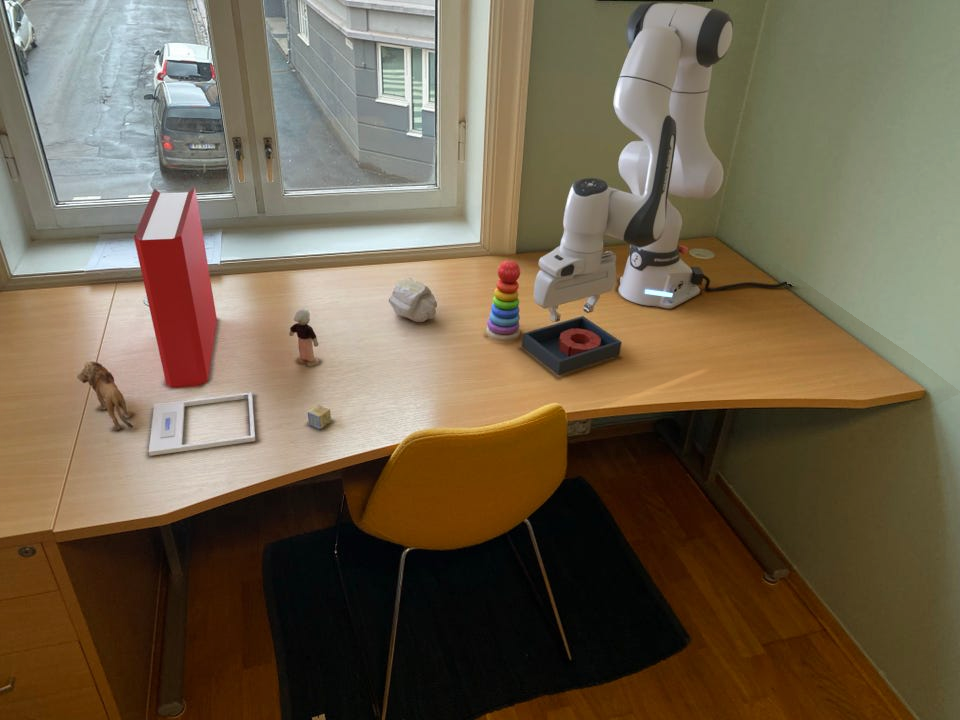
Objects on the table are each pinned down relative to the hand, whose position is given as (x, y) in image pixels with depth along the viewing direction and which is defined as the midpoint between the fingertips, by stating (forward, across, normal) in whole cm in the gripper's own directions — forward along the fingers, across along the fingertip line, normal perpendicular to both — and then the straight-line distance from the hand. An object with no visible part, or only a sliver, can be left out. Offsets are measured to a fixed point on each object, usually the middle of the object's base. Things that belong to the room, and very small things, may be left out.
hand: (571, 316), depth 159 cm
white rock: (+10, +22, -32) cm, 40 cm away
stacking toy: (+10, +8, -14) cm, 19 cm away
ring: (+9, -4, 0) cm, 10 cm away
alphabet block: (+11, +58, -3) cm, 59 cm away
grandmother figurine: (+11, +52, -25) cm, 59 cm away
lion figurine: (+11, +91, -25) cm, 95 cm away
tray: (+10, -1, 0) cm, 10 cm away
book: (+11, +72, -40) cm, 83 cm away
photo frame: (+11, +77, -13) cm, 79 cm away
